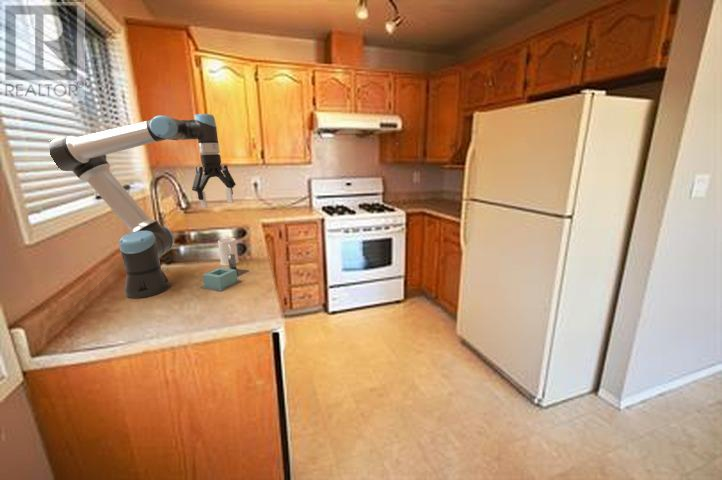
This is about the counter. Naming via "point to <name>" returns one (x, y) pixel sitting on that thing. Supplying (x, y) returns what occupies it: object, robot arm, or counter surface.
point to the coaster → (220, 289)
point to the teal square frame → (220, 278)
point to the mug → (227, 250)
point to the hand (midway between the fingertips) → (217, 205)
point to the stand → (233, 265)
